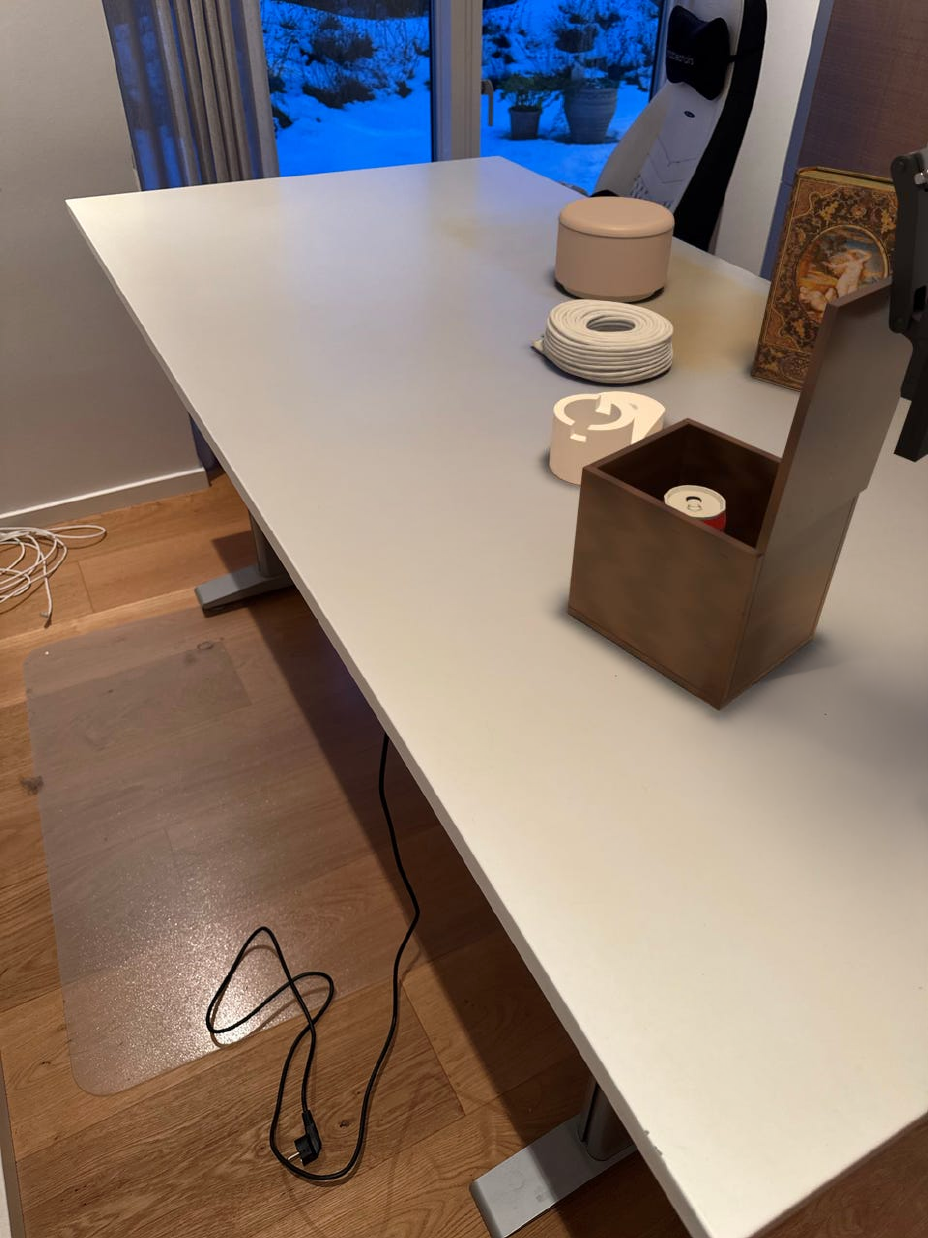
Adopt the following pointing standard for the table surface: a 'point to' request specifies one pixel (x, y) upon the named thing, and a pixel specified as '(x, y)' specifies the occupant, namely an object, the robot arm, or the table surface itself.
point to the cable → (607, 341)
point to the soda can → (699, 504)
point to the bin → (697, 562)
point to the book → (822, 262)
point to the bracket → (599, 428)
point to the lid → (839, 413)
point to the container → (613, 248)
